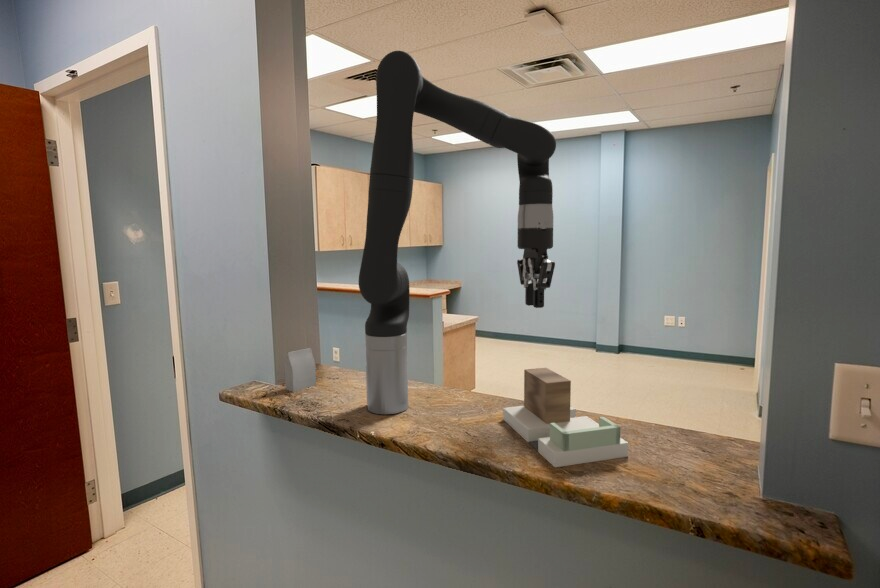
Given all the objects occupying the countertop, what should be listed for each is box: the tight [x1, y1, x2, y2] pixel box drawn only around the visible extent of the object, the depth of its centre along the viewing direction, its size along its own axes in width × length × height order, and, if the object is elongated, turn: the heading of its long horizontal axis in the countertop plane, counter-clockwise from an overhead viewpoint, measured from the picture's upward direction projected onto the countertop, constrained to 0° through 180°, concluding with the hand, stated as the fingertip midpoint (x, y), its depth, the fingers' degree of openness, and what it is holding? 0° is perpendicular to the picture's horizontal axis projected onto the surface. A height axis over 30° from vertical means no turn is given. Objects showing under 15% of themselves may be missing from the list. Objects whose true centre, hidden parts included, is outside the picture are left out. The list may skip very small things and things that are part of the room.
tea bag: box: [284, 347, 317, 393], centre depth 121 cm, size 4×7×10 cm, turn 139°
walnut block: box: [523, 367, 572, 424], centre depth 94 cm, size 10×5×8 cm, turn 15°
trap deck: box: [502, 405, 630, 468], centre depth 89 cm, size 22×14×6 cm, turn 15°
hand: (534, 305), depth 102 cm, fingers open, 3 cm apart
